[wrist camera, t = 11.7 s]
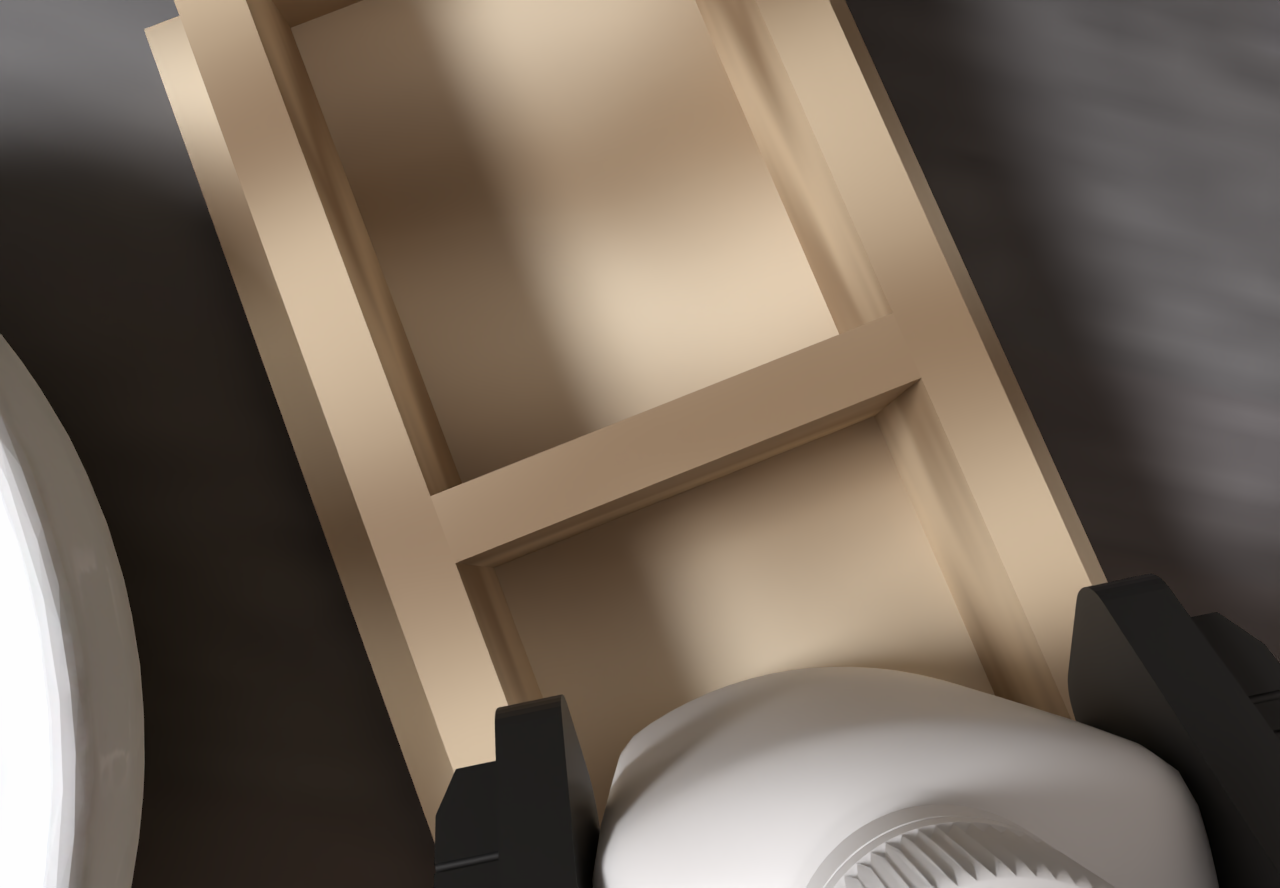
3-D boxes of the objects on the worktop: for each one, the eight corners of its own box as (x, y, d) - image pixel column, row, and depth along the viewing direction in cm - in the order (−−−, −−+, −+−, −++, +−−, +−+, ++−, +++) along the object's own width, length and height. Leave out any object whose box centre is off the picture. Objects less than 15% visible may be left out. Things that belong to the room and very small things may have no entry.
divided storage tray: (172, 60, 21) (36, -87, 17) (748, -160, 22) (771, -364, 17) (586, 1209, 19) (559, 1415, 14) (1240, 937, 19) (1427, 1051, 14)
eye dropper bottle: (935, 990, 17) (1611, 1980, 5) (583, 852, 17) (393, 1448, 5) (1024, 710, 17) (1835, 966, 5) (681, 582, 18) (716, 552, 6)
